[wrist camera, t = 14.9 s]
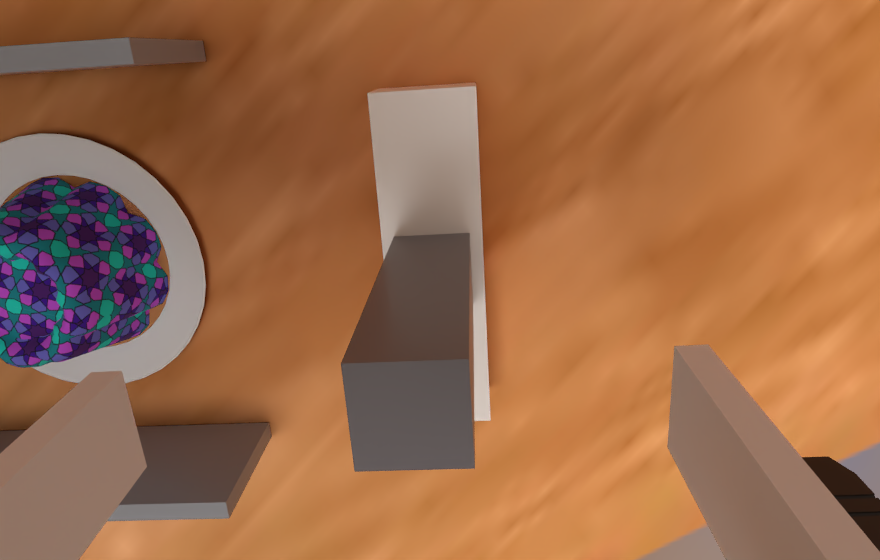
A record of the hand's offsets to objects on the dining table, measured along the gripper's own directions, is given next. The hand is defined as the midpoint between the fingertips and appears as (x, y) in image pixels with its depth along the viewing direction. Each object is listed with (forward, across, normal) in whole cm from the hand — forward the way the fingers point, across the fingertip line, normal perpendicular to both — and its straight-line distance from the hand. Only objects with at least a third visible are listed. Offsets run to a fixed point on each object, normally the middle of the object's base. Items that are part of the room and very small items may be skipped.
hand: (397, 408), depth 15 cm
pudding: (+15, -16, 0) cm, 22 cm away
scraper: (+14, 0, 0) cm, 14 cm away
